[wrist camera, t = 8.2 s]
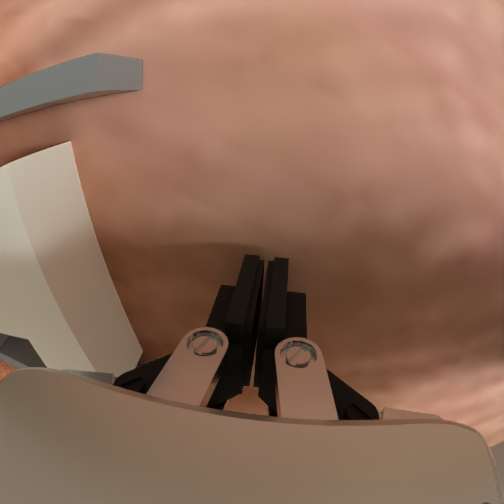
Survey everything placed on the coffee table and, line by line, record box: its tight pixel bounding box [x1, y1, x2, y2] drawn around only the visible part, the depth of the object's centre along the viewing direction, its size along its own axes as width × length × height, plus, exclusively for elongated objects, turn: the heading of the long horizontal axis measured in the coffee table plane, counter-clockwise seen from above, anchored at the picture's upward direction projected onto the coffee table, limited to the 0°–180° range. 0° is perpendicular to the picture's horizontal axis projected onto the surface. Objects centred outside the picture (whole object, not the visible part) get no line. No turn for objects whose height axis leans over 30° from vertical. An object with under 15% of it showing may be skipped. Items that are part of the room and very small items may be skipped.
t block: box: [0, 141, 143, 377], centre depth 12 cm, size 10×12×4 cm
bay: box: [0, 53, 143, 369], centre depth 12 cm, size 15×17×3 cm
